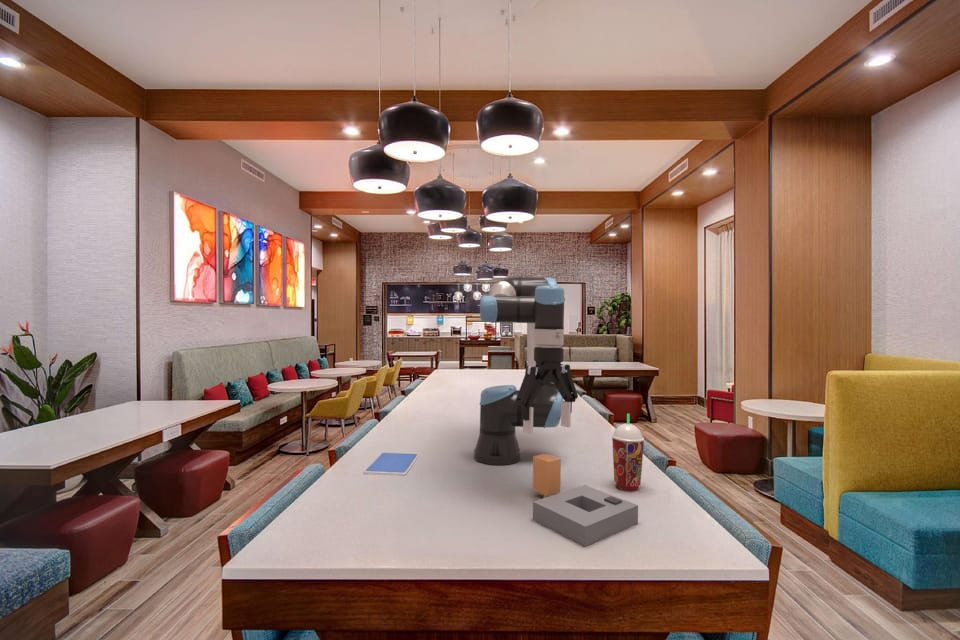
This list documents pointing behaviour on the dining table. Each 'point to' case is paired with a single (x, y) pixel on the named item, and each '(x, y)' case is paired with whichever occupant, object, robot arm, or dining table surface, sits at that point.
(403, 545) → the dining table surface
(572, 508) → the socket box
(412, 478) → the dining table surface
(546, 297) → the robot arm
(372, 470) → the tablet computer
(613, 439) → the smoothie
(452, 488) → the dining table surface
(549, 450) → the dining table surface
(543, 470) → the plug
